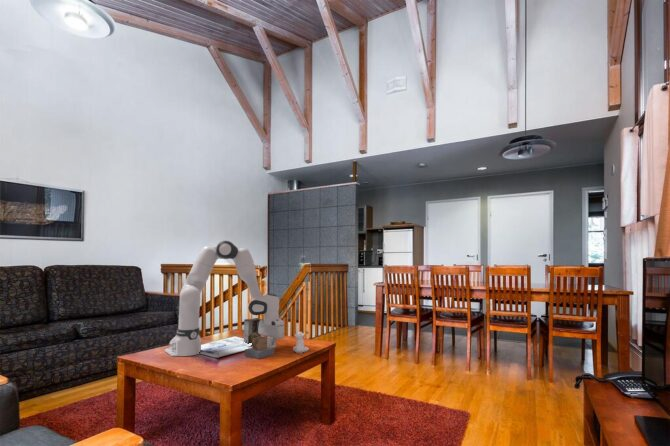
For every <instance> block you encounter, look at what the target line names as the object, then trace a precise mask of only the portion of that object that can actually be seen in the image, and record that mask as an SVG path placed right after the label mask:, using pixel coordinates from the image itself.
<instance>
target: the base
mask: <svg viewBox="0 0 670 446" xmlns="http://www.w3.org/2000/svg"><path fill="white" fill-rule="evenodd" d="M275 350H276V349H275V348H268V347H267V349H264V350H260V351H258V350H254V349H252V347H250V348H249V347H248V348H246V349H245V348H244V356H247V357H251V358H254V359H258V360H259V359H264V358H266V357H269V356H270V357H271V356H274V355H275V353H276V352H275Z"/></svg>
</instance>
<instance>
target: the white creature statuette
mask: <svg viewBox="0 0 670 446" xmlns="http://www.w3.org/2000/svg"><path fill="white" fill-rule="evenodd" d="M304 335H305V334H304V333H303V332H302V331H297V332H296V333H295V334H294V337H295V339H297V340H296V342H295V346H293V348H292V351H293V352H294V353H296V354H303V352H304V353H307V352H308V351H309V348H310V347H308V346H305V341H304V337H305V336H304Z"/></svg>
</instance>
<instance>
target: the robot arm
mask: <svg viewBox="0 0 670 446" xmlns="http://www.w3.org/2000/svg"><path fill="white" fill-rule="evenodd" d="M219 259H222V260H231V261H233V262H234V265H235V269H236V272H237V274H238V276H239V278H240V279H241V280H242V281H243V282H244V283H245V284H246V286H247V287H248V290H249V293H250V296H251V301H250V302H249V304H248V311H249V313H250V314H251V315H253V316H260V315H263V318H260V319H261V320H260V323H259V327H258V333H259V334H261V336H263V337H265V338H268V337H273V339H274V340H273V342H272V345H275V344H276V345H277V340H281V339H283V338H285V337H284V336H285V326H284V325H285V320H282V319H281V318H280V316H279V315H280V314H279V309H280V298H279V296H278V295H277V294H274V293H266V294H264V295H263V294H262V292H261V289H260V286H259V283H258V279H257V271H256V266H255V262H254V259H253V257H252V254H251V252H250V250H249V249H248V248H245V247H240V248H238V247H237V246H236V245H235V244H234V243H233V242H232V241H229V240H222V241H220V242H218V243H217V245H216V246H215V247H214V246H211V245H205V246H203V247H202V248H201V250H200V251H199V253H198V254H197V256H196V258H195V261H194V263H193V265H192V266H191V269H190V270H189V273H188V274H187V275H188V276H187V277H186V279H185V281H184V284H183V285H182V287H181V290H180V292H179V306H178V307H179V308H178V326H177V327H178V328H177V329H176V333H175V336H174V337H173V338H172V339H171V340H170V341H169V343H168V348H165V349H164V352H165V353H167V354H168V355H169V356H171V357H190V356H195V355H198V354H200V353H201V352H200V350H201V348H202V339H201V336H200V310H201V309H200V306H201V294H202V291H203V289H204V287H205V285H206V283H207V282H208V280H209V278H210V275H211V273H212V270H213V269H214V266H215V264H216V262H217V261H218V260H219ZM199 352H200V353H199Z"/></svg>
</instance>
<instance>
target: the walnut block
mask: <svg viewBox="0 0 670 446" xmlns="http://www.w3.org/2000/svg"><path fill="white" fill-rule="evenodd" d="M267 338H268V337H267ZM267 338H265V337H264V336H261V337H257V338H253V341H252V346H251V348H252V349H254V350H258V351H260V350H264V349H267Z"/></svg>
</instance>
